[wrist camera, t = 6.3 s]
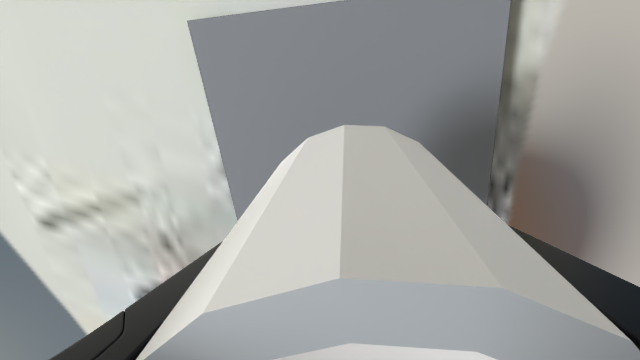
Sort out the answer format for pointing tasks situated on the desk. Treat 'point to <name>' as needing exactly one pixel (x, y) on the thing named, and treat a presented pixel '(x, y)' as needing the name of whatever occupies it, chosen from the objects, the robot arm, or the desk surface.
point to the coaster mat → (354, 81)
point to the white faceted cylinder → (378, 270)
